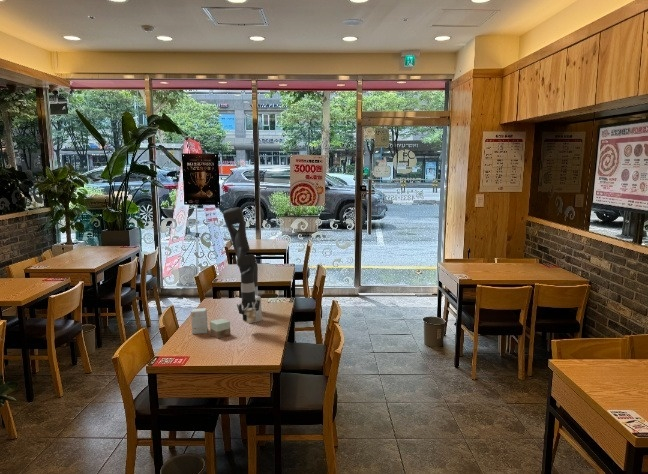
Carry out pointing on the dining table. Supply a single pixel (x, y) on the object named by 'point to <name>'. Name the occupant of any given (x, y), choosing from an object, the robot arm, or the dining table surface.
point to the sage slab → (219, 325)
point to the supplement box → (258, 312)
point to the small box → (199, 321)
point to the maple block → (250, 315)
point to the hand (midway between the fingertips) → (249, 319)
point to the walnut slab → (220, 333)
